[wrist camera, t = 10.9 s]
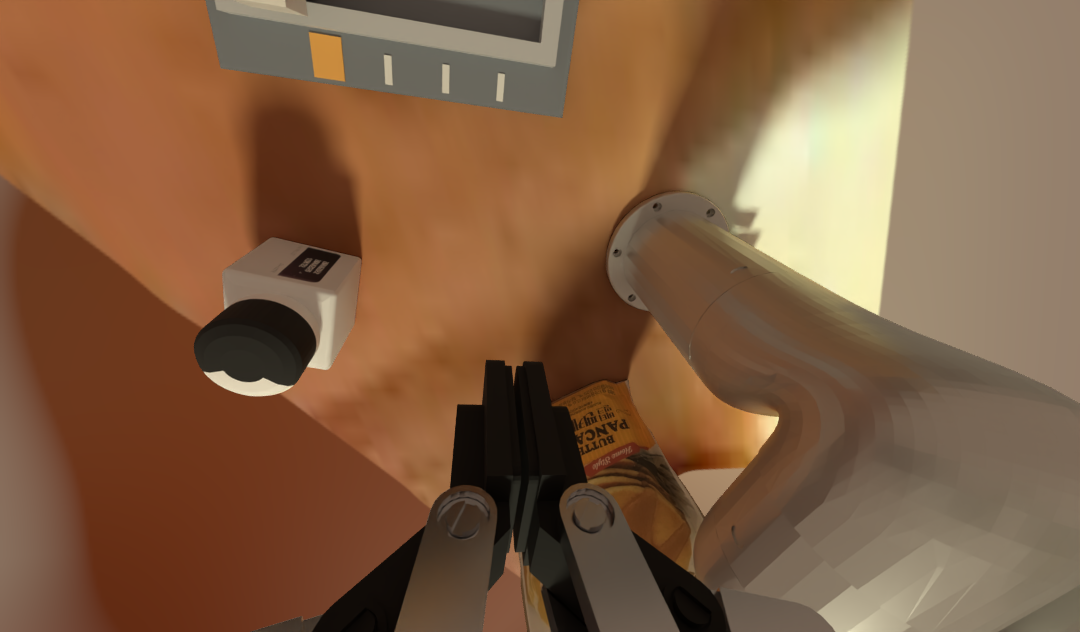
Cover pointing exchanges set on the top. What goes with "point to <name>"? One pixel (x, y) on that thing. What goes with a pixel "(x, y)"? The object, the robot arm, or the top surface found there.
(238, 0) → the fader
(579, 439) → the pancake mix bag
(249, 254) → the container
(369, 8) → the console
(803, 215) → the top surface
